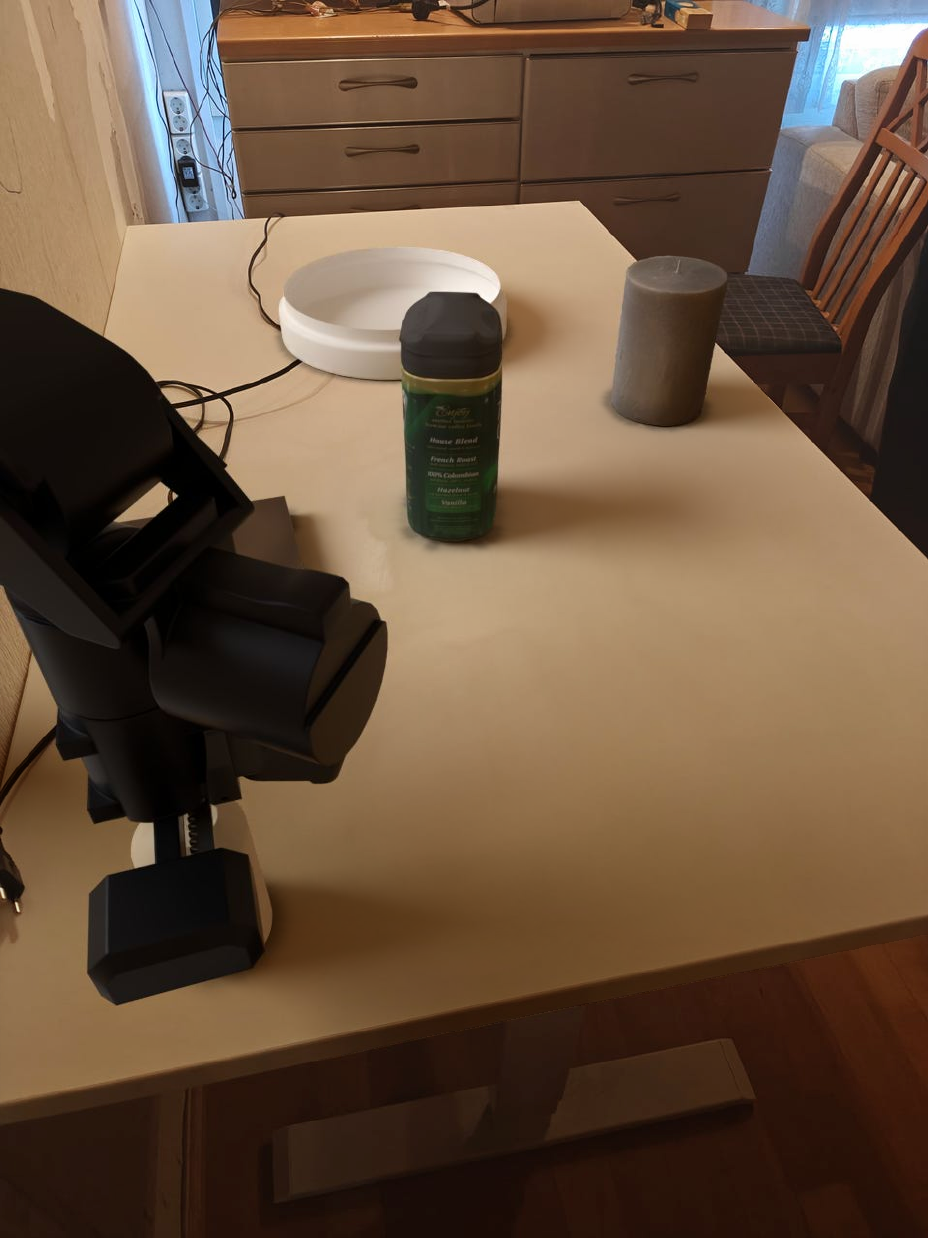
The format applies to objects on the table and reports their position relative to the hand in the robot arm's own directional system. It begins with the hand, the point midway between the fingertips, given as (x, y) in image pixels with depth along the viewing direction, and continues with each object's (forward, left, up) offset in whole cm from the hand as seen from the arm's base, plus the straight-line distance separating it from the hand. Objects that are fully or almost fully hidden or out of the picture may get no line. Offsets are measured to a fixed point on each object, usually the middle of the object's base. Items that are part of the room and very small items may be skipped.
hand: (205, 881), depth 45 cm
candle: (0, 0, -5) cm, 5 cm away
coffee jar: (+23, +34, -5) cm, 41 cm away
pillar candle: (+49, +47, -5) cm, 68 cm away
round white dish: (+27, +73, -5) cm, 78 cm away
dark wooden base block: (+2, +31, -4) cm, 31 cm away
